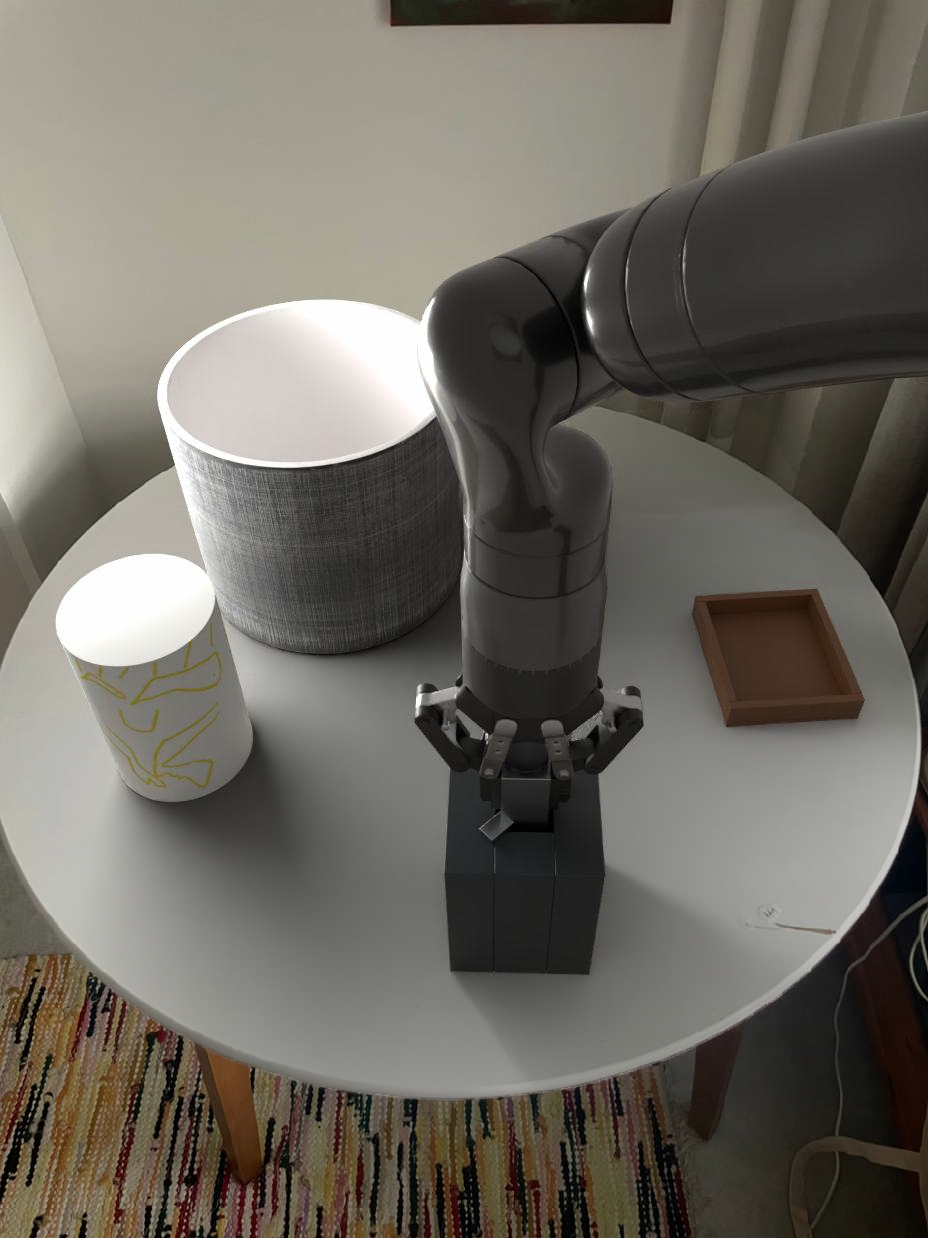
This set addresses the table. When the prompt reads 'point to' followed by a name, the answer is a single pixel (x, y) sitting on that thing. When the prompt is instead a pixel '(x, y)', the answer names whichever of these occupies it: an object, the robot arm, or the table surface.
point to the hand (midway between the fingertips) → (524, 797)
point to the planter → (315, 473)
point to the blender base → (523, 884)
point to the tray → (775, 658)
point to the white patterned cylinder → (158, 674)
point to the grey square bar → (522, 792)
